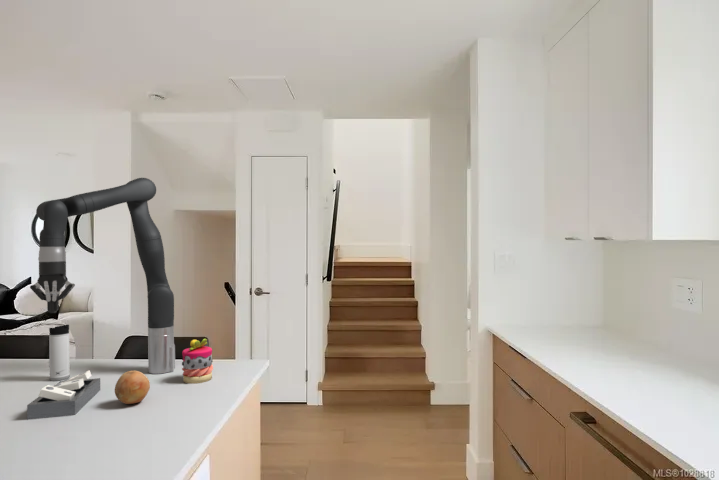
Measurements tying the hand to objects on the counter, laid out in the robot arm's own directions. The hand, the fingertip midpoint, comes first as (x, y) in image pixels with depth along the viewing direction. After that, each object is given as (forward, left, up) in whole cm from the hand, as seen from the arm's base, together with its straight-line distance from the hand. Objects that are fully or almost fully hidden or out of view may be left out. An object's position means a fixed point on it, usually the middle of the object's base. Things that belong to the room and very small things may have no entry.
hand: (53, 312), depth 152 cm
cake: (-45, -3, -27) cm, 53 cm away
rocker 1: (-8, +20, -22) cm, 30 cm away
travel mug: (+5, -20, -27) cm, 34 cm away
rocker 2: (-8, +5, -22) cm, 24 cm away
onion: (-28, +18, -27) cm, 43 cm away
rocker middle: (-8, +12, -22) cm, 26 cm away
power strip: (-8, +8, -27) cm, 29 cm away
